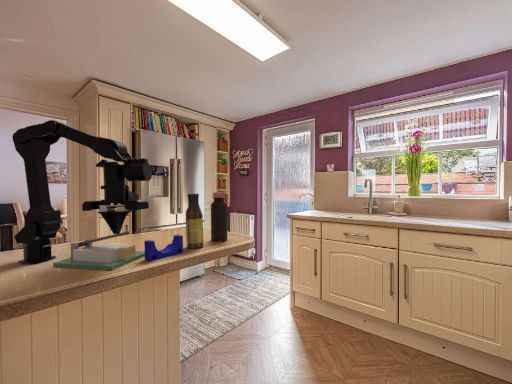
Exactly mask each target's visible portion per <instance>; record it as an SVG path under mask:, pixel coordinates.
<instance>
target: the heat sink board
mask: <svg viewBox="0 0 512 384" xmlns="http://www.w3.org/2000/svg"><path fill="white" fill-rule="evenodd" d="M88 240H92V238H91V239H90V238H88V239H85V240H84V241H88ZM142 258H145V250H143V251H142V250H136V245H135V244H132V243H117V242H116V243H110V242H108V243H107V242H99V243H95V244H93V242H92V243H88V244H87V245H86V246H82V247H79V242H71V243H70V257H68V258H65V259H61V260H58V261H55V262H53V263H52V267H55V268H56V267H58V268H70V269H73V268H74V269H84V270H85V269H86V270H87V269H88V270H102V271H103V270H104V271H114V270H116V269H117V268H120V267H124V266H125V265H128V264H130V263H133V262H135V261H137V260H139V259H142Z"/></svg>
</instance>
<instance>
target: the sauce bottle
mask: <svg viewBox="0 0 512 384" xmlns="http://www.w3.org/2000/svg"><path fill="white" fill-rule="evenodd" d="M199 197H200V194H199V193H198V192H197V193H187V201H188V204H187V209H186V210H185V237H186V238H185V239H186V247H187V248H189V249H198V248H202V247H203V246H204V239H205V238H204V218H203V211H202V209H201V207H200V204H199Z"/></svg>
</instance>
